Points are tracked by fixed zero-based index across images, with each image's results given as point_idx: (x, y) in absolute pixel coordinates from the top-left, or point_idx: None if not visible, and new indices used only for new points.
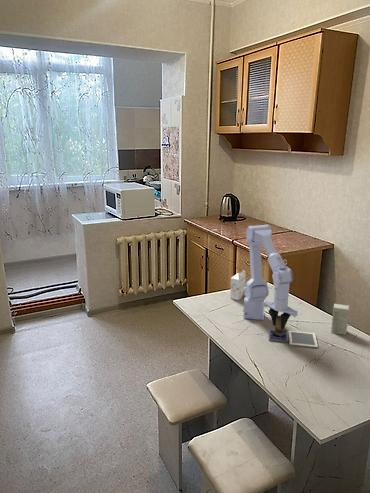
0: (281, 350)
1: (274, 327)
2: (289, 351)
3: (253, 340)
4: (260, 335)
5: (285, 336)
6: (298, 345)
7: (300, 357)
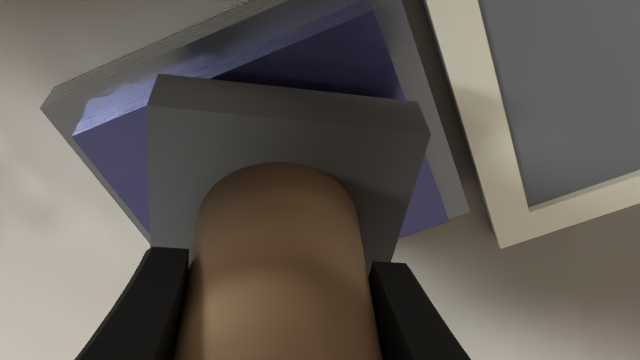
0: None
1: (158, 207)
2: (509, 325)
3: (51, 356)
4: (28, 231)
5: (413, 190)
6: (616, 203)
7: (634, 348)
